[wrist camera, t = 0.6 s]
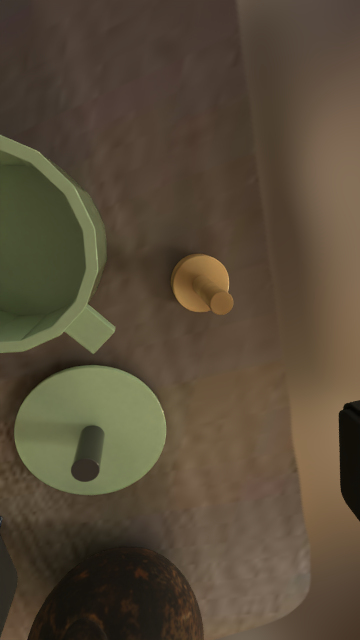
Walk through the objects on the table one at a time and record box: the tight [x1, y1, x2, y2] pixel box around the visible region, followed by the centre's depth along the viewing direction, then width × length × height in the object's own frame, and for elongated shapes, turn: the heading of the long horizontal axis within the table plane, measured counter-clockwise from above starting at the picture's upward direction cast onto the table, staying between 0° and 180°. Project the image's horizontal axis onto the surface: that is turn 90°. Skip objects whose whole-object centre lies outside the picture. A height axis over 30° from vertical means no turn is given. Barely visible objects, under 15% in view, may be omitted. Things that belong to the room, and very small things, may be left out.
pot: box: [0, 135, 115, 354], centre depth 24 cm, size 14×19×8 cm
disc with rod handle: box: [171, 254, 233, 315], centre depth 26 cm, size 5×5×9 cm
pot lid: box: [14, 365, 166, 495], centre depth 30 cm, size 15×15×6 cm
